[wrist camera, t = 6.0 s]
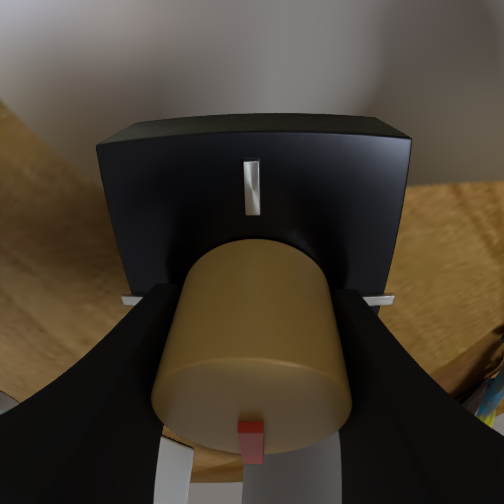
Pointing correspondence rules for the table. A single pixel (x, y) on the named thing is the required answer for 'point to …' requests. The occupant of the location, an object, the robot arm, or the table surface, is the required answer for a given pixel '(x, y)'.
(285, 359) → the pointer wheel
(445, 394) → the robot arm
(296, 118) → the dial panel
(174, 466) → the jar
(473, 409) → the bird model
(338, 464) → the cup
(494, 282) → the table surface
